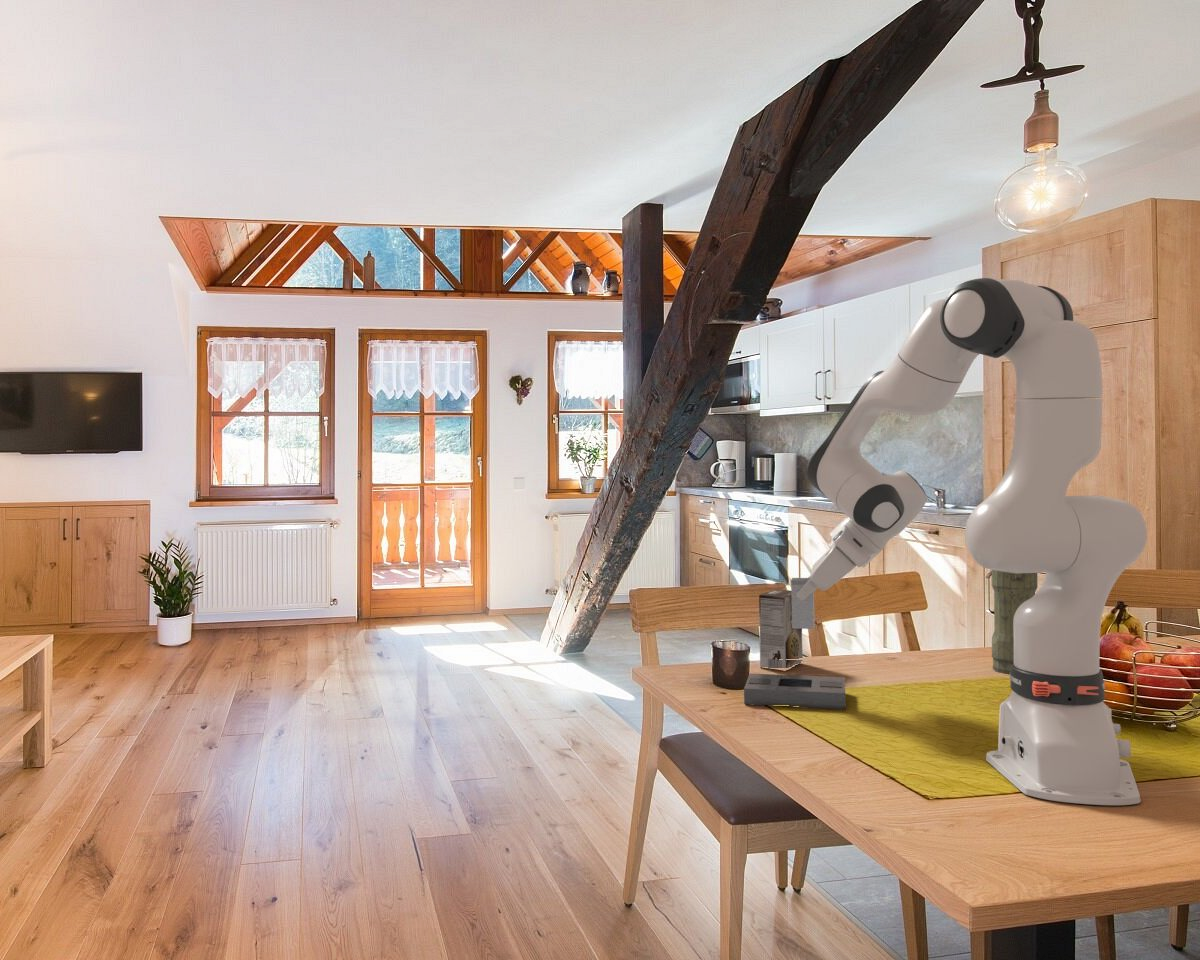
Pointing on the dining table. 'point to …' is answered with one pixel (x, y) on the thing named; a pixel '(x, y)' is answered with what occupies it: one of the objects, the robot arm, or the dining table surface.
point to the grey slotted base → (796, 691)
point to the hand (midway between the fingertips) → (799, 595)
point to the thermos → (1008, 613)
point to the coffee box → (778, 631)
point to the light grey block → (802, 606)
